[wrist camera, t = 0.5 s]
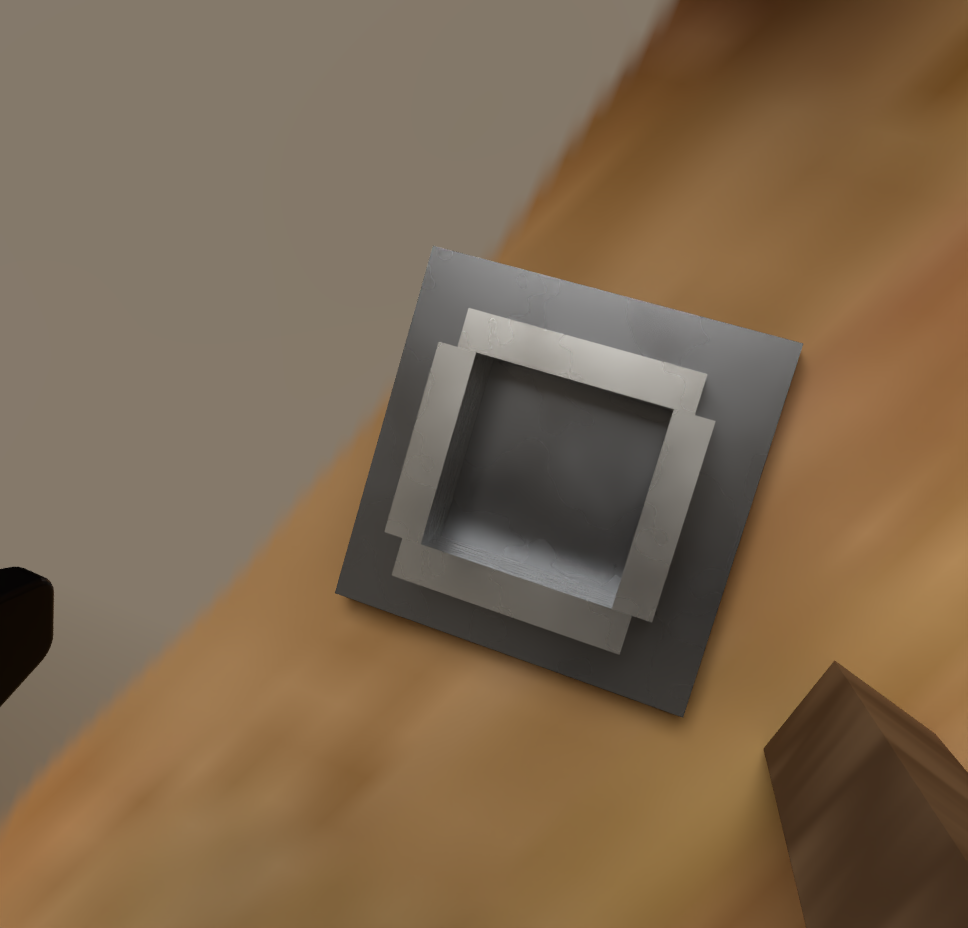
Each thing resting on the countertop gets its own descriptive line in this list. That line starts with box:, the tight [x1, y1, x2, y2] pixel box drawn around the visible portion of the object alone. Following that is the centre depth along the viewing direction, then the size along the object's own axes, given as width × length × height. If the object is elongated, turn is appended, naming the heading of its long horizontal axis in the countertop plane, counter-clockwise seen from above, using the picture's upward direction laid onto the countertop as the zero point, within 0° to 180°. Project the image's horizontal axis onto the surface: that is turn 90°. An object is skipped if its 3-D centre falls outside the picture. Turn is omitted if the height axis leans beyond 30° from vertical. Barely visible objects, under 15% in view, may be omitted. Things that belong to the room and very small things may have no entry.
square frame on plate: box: [335, 246, 803, 717], centre depth 24 cm, size 10×10×3 cm
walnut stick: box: [764, 661, 968, 928], centre depth 17 cm, size 3×3×13 cm
